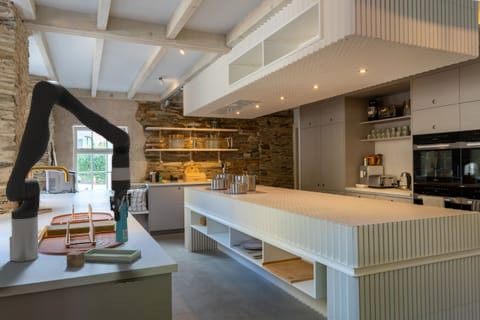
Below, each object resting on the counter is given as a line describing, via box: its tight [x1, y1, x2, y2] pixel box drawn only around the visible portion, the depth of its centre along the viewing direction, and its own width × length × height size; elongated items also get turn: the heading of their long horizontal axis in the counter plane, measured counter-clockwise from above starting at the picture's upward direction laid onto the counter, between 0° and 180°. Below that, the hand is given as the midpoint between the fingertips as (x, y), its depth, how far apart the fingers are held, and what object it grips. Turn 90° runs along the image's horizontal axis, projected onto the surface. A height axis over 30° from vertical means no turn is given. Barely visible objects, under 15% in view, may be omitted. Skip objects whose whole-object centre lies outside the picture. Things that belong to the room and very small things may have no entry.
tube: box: [115, 199, 129, 244], centre depth 140 cm, size 7×5×19 cm, turn 5°
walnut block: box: [66, 250, 86, 268], centre depth 132 cm, size 4×4×5 cm
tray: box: [84, 247, 142, 264], centre depth 141 cm, size 22×10×2 cm, turn 82°
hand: (121, 219), depth 140 cm, fingers closed on tube, 6 cm apart
